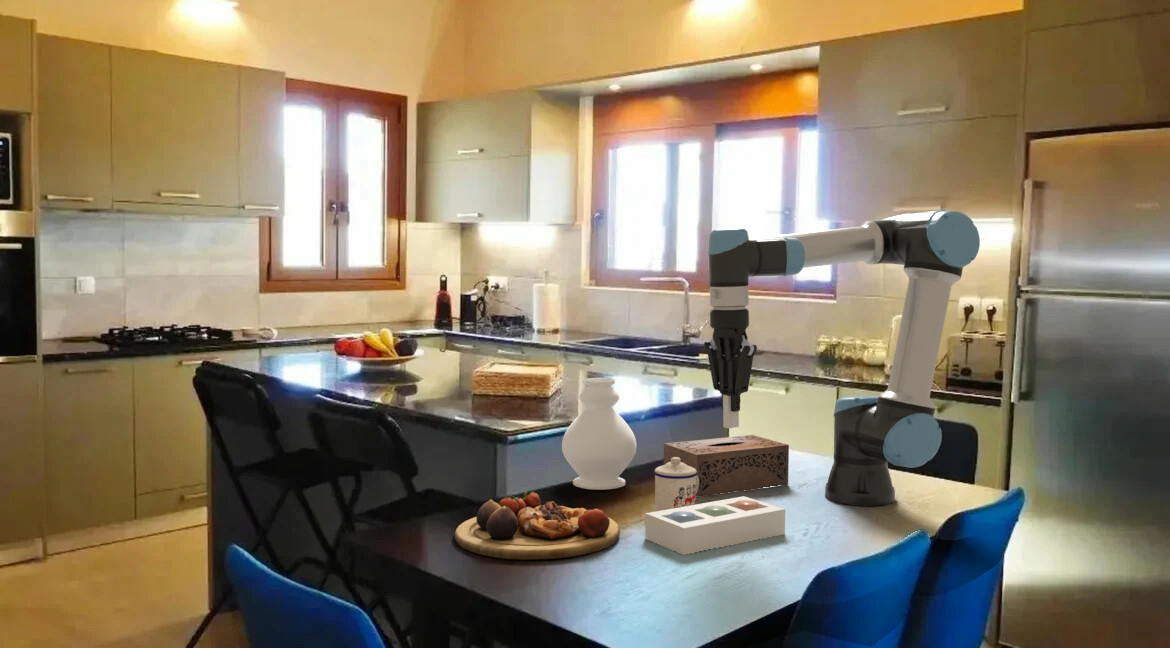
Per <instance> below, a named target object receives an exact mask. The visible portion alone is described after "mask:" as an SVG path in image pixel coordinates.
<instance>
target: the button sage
mask: <svg viewBox="0 0 1170 648" xmlns="http://www.w3.org/2000/svg"><path fill="white" fill-rule="evenodd" d="M704 514H707V515H710V516H713V517H716V516H722V515H727V514H728V508H726V507H723V506H707V507H704Z"/></svg>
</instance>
